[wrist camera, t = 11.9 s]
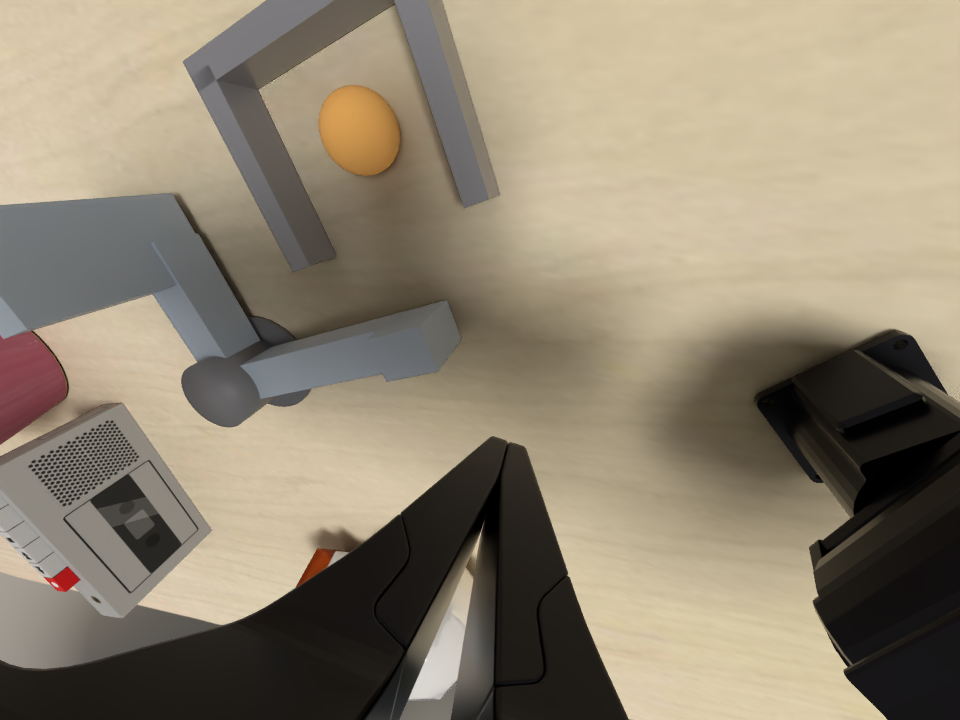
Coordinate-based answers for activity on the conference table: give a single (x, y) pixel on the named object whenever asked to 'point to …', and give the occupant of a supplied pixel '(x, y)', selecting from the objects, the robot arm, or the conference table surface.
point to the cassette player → (97, 509)
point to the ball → (359, 130)
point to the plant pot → (27, 382)
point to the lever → (191, 303)
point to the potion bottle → (447, 643)
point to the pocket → (287, 42)
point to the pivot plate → (274, 337)
